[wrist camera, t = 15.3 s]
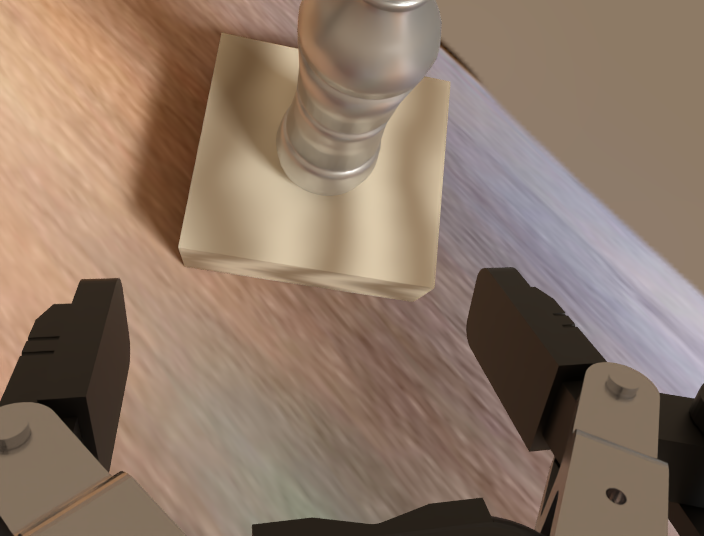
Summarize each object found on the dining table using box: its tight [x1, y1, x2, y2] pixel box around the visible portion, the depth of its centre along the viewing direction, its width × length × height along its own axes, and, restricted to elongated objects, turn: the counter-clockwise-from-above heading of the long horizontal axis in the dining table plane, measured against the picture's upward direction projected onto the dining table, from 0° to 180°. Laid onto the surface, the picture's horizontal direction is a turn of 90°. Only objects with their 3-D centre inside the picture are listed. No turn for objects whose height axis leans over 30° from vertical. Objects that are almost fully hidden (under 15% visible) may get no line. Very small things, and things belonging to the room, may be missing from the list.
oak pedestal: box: [178, 33, 450, 302], centre depth 43 cm, size 17×16×5 cm
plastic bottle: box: [276, 0, 442, 196], centre depth 31 cm, size 6×7×20 cm
